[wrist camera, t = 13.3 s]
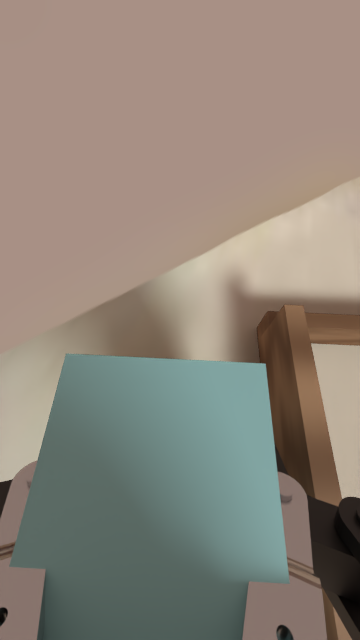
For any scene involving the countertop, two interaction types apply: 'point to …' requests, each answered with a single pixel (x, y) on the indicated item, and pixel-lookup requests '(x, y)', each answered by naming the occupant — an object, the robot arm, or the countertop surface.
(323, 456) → the lane
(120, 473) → the teal block
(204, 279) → the countertop surface
